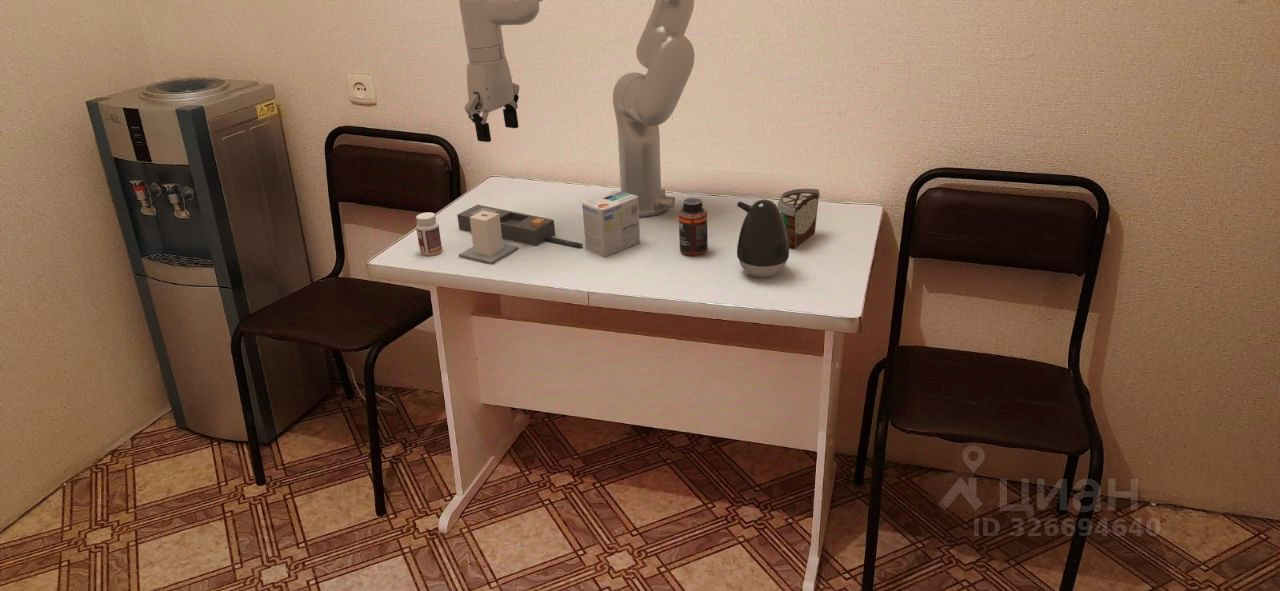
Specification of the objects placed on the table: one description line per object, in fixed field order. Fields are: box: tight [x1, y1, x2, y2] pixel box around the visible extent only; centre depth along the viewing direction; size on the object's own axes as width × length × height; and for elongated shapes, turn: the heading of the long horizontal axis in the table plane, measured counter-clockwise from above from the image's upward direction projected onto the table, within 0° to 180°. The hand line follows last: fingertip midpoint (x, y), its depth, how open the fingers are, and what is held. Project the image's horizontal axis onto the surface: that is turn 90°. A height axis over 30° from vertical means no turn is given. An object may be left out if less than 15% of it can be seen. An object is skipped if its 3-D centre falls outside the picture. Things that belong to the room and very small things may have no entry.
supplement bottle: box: [678, 197, 709, 257], centre depth 187 cm, size 6×6×11 cm
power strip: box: [456, 204, 584, 249], centre depth 200 cm, size 32×7×4 cm, turn 59°
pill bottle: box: [415, 212, 443, 257], centre depth 194 cm, size 5×5×8 cm
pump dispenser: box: [736, 199, 790, 278], centre depth 176 cm, size 10×10×15 cm
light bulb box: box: [581, 189, 641, 258], centre depth 192 cm, size 11×7×11 cm, turn 134°
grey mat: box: [458, 242, 519, 265], centre depth 193 cm, size 9×9×1 cm
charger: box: [470, 211, 504, 256], centre depth 191 cm, size 4×4×8 cm
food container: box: [776, 188, 821, 250], centre depth 191 cm, size 12×6×10 cm, turn 145°
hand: (498, 134), depth 192 cm, fingers open, 9 cm apart
